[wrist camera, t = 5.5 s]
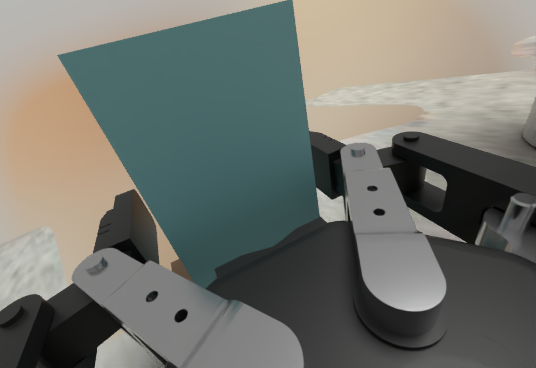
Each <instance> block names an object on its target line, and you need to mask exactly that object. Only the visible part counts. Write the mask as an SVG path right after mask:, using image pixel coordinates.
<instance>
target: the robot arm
mask: <svg viewBox="0 0 536 368" xmlns="http://www.w3.org/2000/svg"><path fill="white" fill-rule="evenodd" d="M309 136H310V144H311V152H312V160H313V168H314V176H315V184H316V187H317V188H318V189H319V190H320V191H322V192H323V193H324V194H325V195H327V196H328V197H329V198H330V199H332V200H333V199H335V198H337V197H339V196H341V195H342V196H343V205H344V213H345V221H334V222H329V223H327V222H326V221H325V220H323V219H322V218H321V217H318V218H316V219H314V220H312V221H310V222H308V223H306V224H304V225H302V226H300V227H298V228H296V229H295V230H294V231H292V232H291V233H290V234H289V235H287V236H286V237H285V238H284V239H282V240H281V241H280V242H279V243H277V244H276V245H275V246H273V247H270V248H266V249H262V250H259V251H255V252H251V253H248V254H244V255H241V256H239V257H237V258H235V259H233V260H231V261H229V262H227V263H225V264H223V265H221V266H219V267H217V268H215V269H214V270H215V273H216V276H217V279H215V280H214V281H213V282H212V283H211V284H210V285H209V286H208V287H207V288H206V289H204V288H202V287H201V286H199V285H197V284H195V283H193V282H191V281H189V280H187V279H185V278H183V277H182V276H180V275H178V274H176V273H174V272H172V271H170V270H168V269H166V268H164V267H163V266H161V265H159V255H158V244H157V232H156V225H155V223H154V220H153V218H152V216H151V214H150V213H149V211H148V209H147V208H146V206H145V205H144V203H143V201H142V200H141V198H140V196H139V195H138V193H137V192H136V191H135V190H134V189H133V190H130V191H127V192H125V193H122V194H120V195H117V196H116V197H115V202H114V208H113V209H112V210H109V211H107V212H106V214H105V215H104V217H103V218H102V219H101V221H100V225H99V230H98V234H97V235H98V236H97V238H96V243H95V247H94V251H93V254H92V255H90V256H89V257H87V258H86V259H85V260H83V261H82V262H81V263H80V264H79V265H78V266H77V268H76V269H75V271H74V272H73V275H72V281H73V282H74V283H73V284H71V285H70V286H69V287H67V288H66V289H64V290H62V291H61V292H59V293H58V294H56V295H55V296H53V297H52V298H50V299H49V300H47V301H46V300H44V299H43V298H42V297H41V296H40V295H37V294H33V295H28V296H25V297H22V298H20V299H18V300H16V301H15V302H13V303H11V304H10V305H8V306H7V307H5V308H4V309H3V310H2V311H0V368H95V361H96V354H97V347H98V346H99V345H100V344H102V343H103V342H104V341H105V340H107V339H108V338H109V337H110V336H112V335H113V334H114V333H115V332H117V331H118V330H119V329H120V328H121V329H122V330H123V331H124V332H125V333H126V334H128V335H129V336H130V337H131V338H132V339H133V340H135V341H136V342H137V343H138V344H139V345H140V346H141V347H143V348H144V349H145V350H146V351H147V352H148V353H149V354H151V355H152V356H153V357H154V358H155V359H156V360H157V361H158V362H159V363H160V364H162V365H163V366H164V367H165V368H536V167H534V166H530V165H527V164H524V163H521V162H517V161H514V160H511V159H507V158H504V157H501V156H497V155H494V154H491V153H488V152H484V151H481V150H478V149H474V148H471V147H468V146H464V145H461V144H458V143H455V142H451V141H448V140H445V139H441V138H438V137H435V136H431V135H428V134H425V133H421V132H403V133H399V134H397V135H395V136H394V137H393V138H392V147H388V148H383V149H379V150H376V148H375V147H374V146H373V145H370V144H367V143H353V144H349V145H345V144H343V143H341V142H339V141H337V140H335V139H332V138H330V137H327V136H326V135H324V134H322V133H318V132H310V131H309ZM523 137H524V139H525V140H526V141H527V142H528V143H529V144H531V145H532V146H534V147H536V97H535V100H534V103H533V106H532V108H531V111H530V114H529V117H528V119H527V122H526V125H525V128H524V130H523ZM426 168H427V169H429V170H432V171H434V172H436V173H439V174H441V175H442V176H443V177H444V178H445V179H446V181H447V189H446V191H444V190H442V189H440V188H438V187H436V186H433V185H431V184H429V183H427V182H425V181H424V180H425V174H426ZM407 207H409V208H410V209H412V210H414V211H415V212H417V213H419V214H420V215H422V216H424V217H425V218H427V219H429V220H430V221H432V222H434V223H435V224H437V225H439V226H440V227H442V228H444V229H445V230H447V231H449V232H450V233H452V234H454V235H456V236H457V237H459V238H461V239H462V240H464V241H466V242H467V243H465V242H459V241H454V240H449V239H444V238H439V237H434V236H429V235H424V234H423V233H422V232H419V231H418V230H417V228H416V226H415V224H414V222H413V219H412V217H411V215H410V212H409V210H408V208H407Z"/></svg>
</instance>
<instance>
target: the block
mask: <svg viewBox="0 0 536 368" xmlns="http://www.w3.org/2000/svg"><path fill="white" fill-rule="evenodd" d="M58 57H59V59H60V61H61V62H62V64H63V65H64V67H65V69H66V71H67V72H68V74H69V76H70V77H71V79H72V81H73V82H74V84H75V85H76V87H77V89H78V90H79V92H80V94H81V96H82V97H83V99H84V101H85V102H86V104H87V105H88V107H89V109H90V111H91V112H92V114H93V116H94V117H95V119H96V120H97V122H98V124H99V126H100V127H101V129H102V130H103V132H104V134H105V135H106V137H107V139H108V140H109V142H110V144H111V145H112V147H113V149H114V150H115V152H116V154H117V155H118V157H119V159H120V160H121V162H122V164H123V165H124V167H125V169H126V170H127V172H128V174H129V175H130V177H131V179H132V180H133V182H134V184H135V185H136V187H137V189H138V190H139V192H140V194H141V195H142V197H143V199H144V200H145V202H146V204H147V205H148V207H149V209H150V210H151V212H152V214H153V215H154V217H155V218H156V220H157V222H158V224H159V225H160V227H161V229H162V230H163V232H164V234H165V235H166V237H167V239H168V240H169V242H170V244H171V245H172V247H173V249H174V250H175V252H176V253H177V255H178V257H179V259H180V260H181V262H182V264H183V265H184V267H185V269H186V270H187V272H188V274H189V275H190V277H191V279H192V280H193V282H194V283H195V284H197V285H199V286H201V287H202V288H204V289H206V288H207V287H208V286H209V285H210V284H211V283H212V282H213V281H214V280H215V279H217V276H216V273H215V270H214V269H215V268H217V267H219V266H221V265H223V264H225V263H227V262H229V261H231V260H233V259H235V258H237V257H239V256H241V255H244V254H248V253H251V252H255V251H259V250H262V249H266V248H270V247H273V246H275V245H276V244H277V243H279V242H280V241H281V240H282V239H284V238H285V237H286V236H287V235H289V234H290V233H291V232H292V231H294V230H295V229H296V228H298V227H300V226H302V225H304V224H306V223H308V222H310V221H312V220H314V219H316V218H318V217H320V215H319V208H318V200H317V192H316V184H315V176H314V168H313V160H312V152H311V144H310V136H309V128H308V120H307V112H306V104H305V97H304V89H303V82H302V73H301V65H300V57H299V49H298V41H297V33H296V26H295V18H294V9H293V1H292V0H287V1H282V2H278V3H274V4H270V5H266V6H261V7H257V8H253V9H249V10H245V11H241V12H237V13H232V14H228V15H224V16H220V17H215V18H211V19H207V20H203V21H199V22H195V23H191V24H186V25H182V26H178V27H174V28H169V29H165V30H161V31H157V32H153V33H149V34H145V35H140V36H136V37H132V38H128V39H123V40H120V41H115V42H111V43H107V44H103V45H98V46H94V47H91V48H86V49H82V50H77V51H73V52H69V53H65V54H61V55H58Z"/></svg>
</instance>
